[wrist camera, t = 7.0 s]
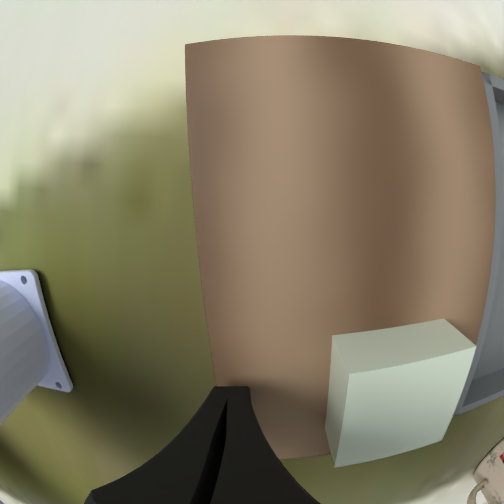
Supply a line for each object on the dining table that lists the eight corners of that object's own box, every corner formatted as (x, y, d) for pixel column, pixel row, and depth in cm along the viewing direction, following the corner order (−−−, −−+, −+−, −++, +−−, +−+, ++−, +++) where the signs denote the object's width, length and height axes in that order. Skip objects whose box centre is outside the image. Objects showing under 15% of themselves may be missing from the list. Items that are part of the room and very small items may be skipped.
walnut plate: (234, 422, 15) (231, 460, 12) (200, 72, 11) (185, 44, 8) (427, 395, 15) (448, 424, 12) (446, 81, 11) (480, 66, 8)
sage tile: (324, 427, 12) (334, 467, 9) (332, 335, 11) (349, 374, 8) (421, 407, 12) (441, 440, 9) (444, 318, 10) (476, 346, 8)
